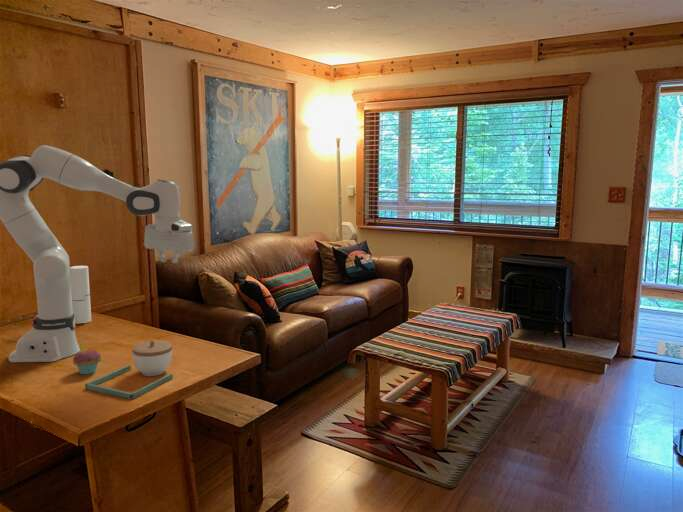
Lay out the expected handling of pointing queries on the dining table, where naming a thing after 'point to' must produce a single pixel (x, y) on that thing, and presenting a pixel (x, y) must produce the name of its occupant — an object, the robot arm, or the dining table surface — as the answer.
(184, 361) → the dining table surface
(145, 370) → the lidded bowl
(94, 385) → the teal u-shaped frame
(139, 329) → the dining table surface
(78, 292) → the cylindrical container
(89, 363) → the cupcake
